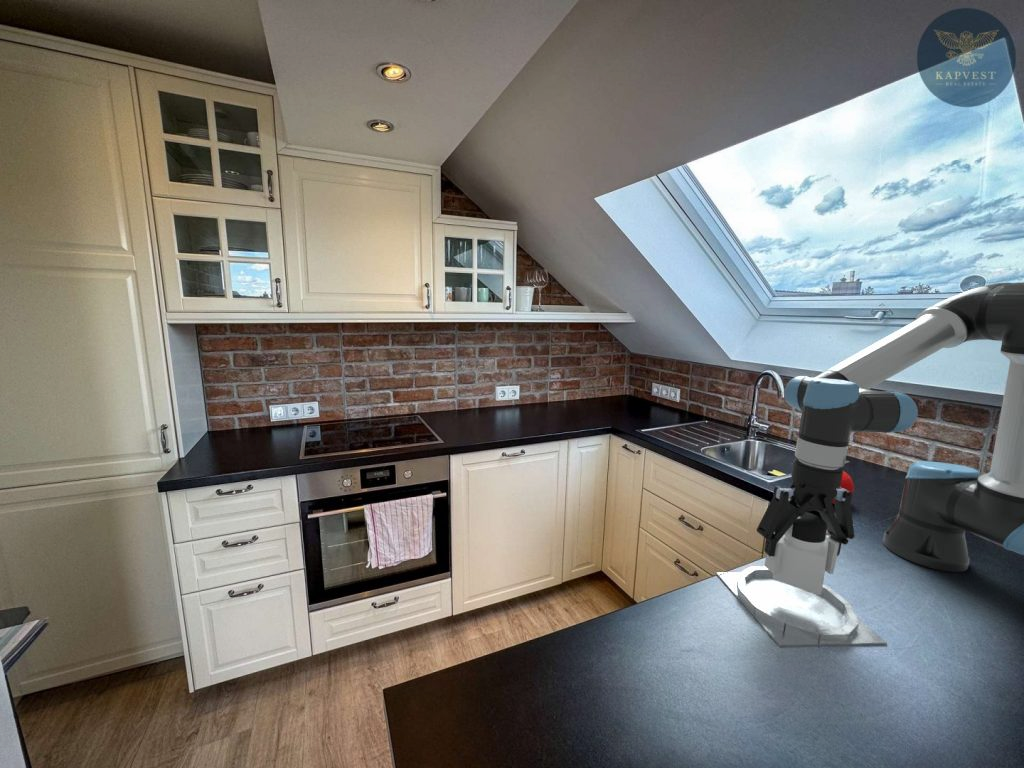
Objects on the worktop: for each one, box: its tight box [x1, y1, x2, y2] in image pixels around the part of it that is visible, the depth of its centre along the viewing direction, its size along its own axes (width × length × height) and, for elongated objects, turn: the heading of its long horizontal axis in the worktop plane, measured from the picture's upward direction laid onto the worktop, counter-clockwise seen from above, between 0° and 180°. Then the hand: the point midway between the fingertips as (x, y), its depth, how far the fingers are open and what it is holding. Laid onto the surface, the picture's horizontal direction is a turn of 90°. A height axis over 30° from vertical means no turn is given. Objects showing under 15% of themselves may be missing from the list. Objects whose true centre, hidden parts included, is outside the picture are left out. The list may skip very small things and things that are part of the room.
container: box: [773, 511, 829, 595], centre depth 81 cm, size 8×8×13 cm
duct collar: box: [716, 565, 888, 648], centre depth 83 cm, size 20×20×2 cm
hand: (798, 569), depth 82 cm, fingers closed on container, 11 cm apart
